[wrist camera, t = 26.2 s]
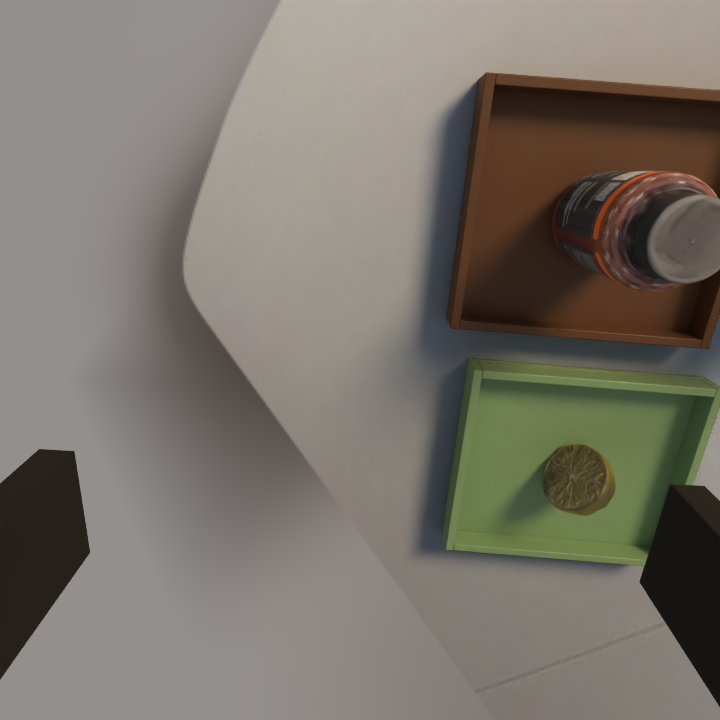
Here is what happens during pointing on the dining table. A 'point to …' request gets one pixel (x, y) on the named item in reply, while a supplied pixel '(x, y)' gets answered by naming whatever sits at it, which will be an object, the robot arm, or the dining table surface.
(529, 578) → the dining table surface
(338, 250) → the dining table surface
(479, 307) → the walnut tray
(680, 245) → the supplement bottle
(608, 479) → the lime
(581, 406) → the green tray
